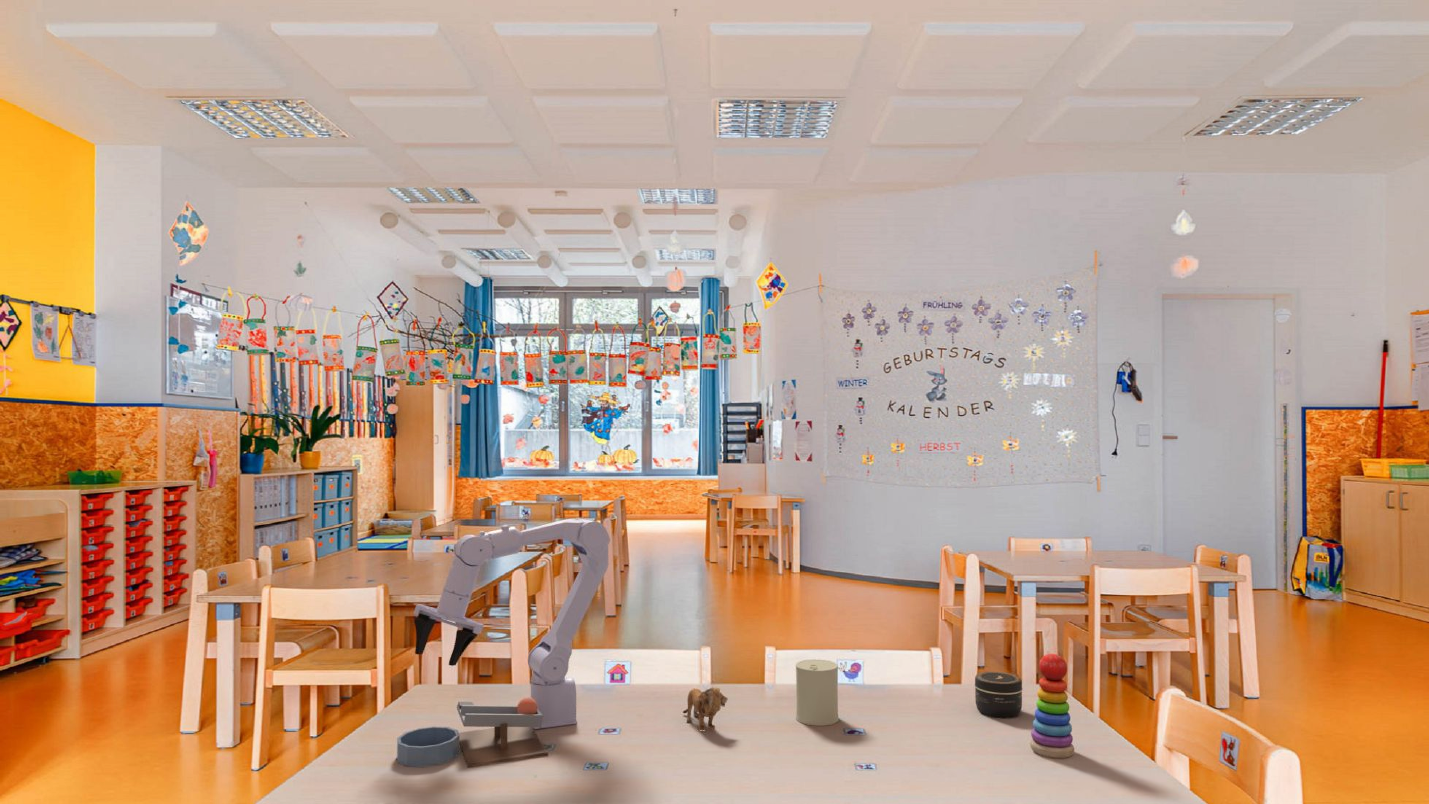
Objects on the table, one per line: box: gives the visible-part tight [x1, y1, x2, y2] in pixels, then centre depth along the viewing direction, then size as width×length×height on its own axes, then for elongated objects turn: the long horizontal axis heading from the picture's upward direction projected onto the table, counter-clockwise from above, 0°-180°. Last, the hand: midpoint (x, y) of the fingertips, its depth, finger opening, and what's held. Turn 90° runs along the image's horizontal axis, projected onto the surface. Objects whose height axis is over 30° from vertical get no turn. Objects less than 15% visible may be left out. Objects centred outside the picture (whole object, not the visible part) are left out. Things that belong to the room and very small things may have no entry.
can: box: [795, 659, 840, 727], centre depth 188 cm, size 9×9×12 cm
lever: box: [456, 701, 543, 728], centre depth 175 cm, size 15×12×2 cm
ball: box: [516, 697, 538, 714], centre depth 175 cm, size 4×4×4 cm
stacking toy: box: [1029, 653, 1075, 759], centre depth 168 cm, size 8×8×19 cm
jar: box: [974, 671, 1023, 719], centre depth 192 cm, size 10×10×8 cm
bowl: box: [396, 726, 460, 768], centre depth 167 cm, size 11×11×4 cm
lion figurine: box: [682, 687, 729, 731], centre depth 184 cm, size 15×5×9 cm, turn 34°
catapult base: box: [458, 723, 549, 768], centre depth 172 cm, size 15×18×5 cm
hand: (435, 659), depth 175 cm, fingers open, 7 cm apart
